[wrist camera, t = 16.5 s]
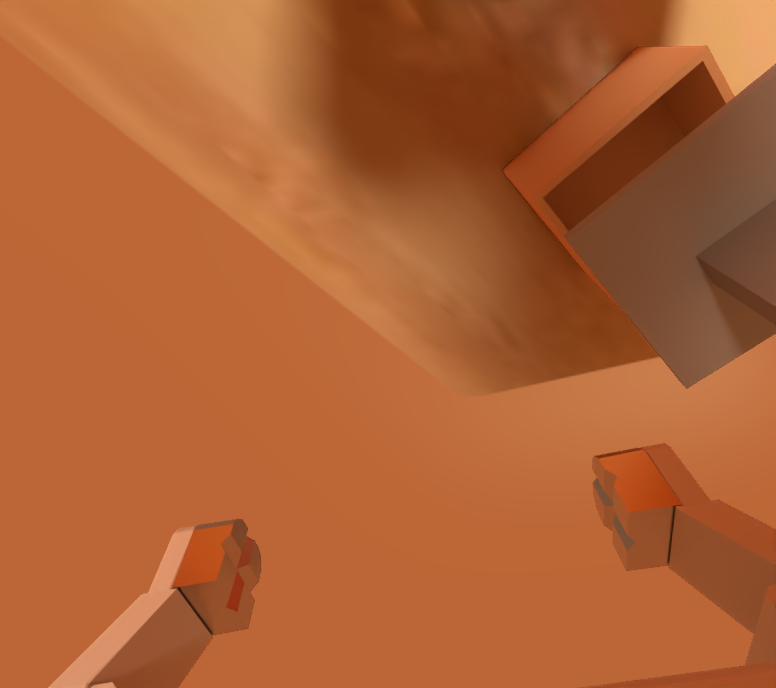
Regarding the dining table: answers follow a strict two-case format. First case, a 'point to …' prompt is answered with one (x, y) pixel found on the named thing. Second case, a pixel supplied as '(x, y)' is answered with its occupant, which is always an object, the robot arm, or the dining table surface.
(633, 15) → the dining table surface
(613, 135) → the large tan box
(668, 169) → the grey plate with knob
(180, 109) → the dining table surface
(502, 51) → the dining table surface
